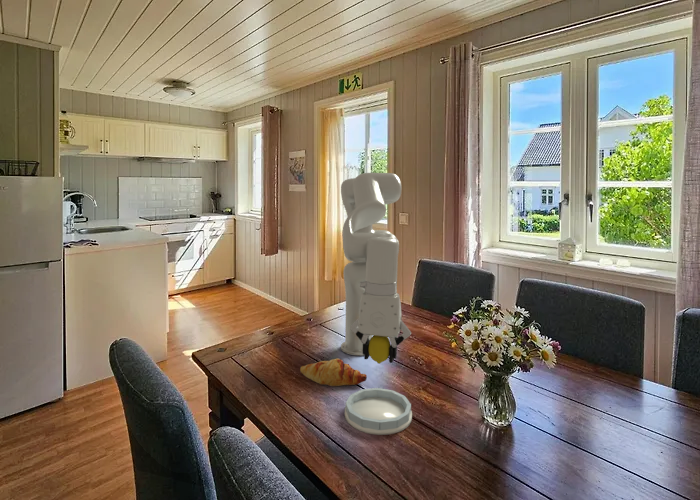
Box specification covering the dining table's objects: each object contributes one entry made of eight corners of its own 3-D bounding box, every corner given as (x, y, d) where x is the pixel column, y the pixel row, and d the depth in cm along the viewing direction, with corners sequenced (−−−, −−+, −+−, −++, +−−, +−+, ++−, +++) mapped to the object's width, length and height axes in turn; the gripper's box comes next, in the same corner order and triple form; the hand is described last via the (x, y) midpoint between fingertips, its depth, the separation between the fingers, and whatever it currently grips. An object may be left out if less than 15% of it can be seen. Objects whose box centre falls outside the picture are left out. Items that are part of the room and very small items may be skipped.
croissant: (296, 389, 123) (290, 372, 119) (308, 362, 131) (302, 345, 126) (364, 399, 117) (360, 382, 112) (372, 370, 125) (368, 353, 120)
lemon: (389, 369, 98) (390, 337, 97) (366, 367, 99) (367, 335, 98) (391, 360, 104) (392, 329, 102) (369, 357, 105) (370, 328, 103)
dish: (355, 393, 114) (355, 383, 114) (416, 403, 109) (416, 392, 109) (335, 427, 98) (335, 415, 97) (406, 440, 93) (406, 428, 93)
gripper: (342, 288, 97) (341, 360, 100) (414, 295, 93) (411, 370, 95) (351, 281, 105) (350, 349, 107) (418, 287, 100) (416, 357, 103)
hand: (379, 358), depth 101 cm, fingers closed on lemon, 5 cm apart
